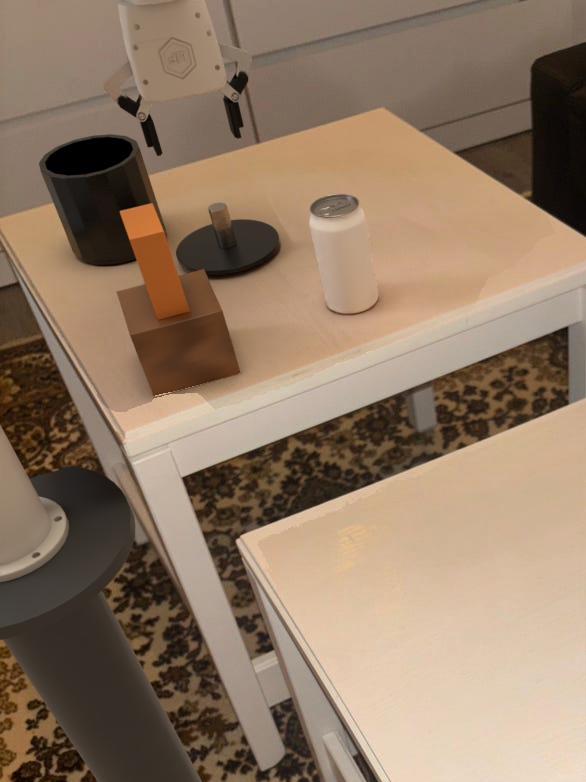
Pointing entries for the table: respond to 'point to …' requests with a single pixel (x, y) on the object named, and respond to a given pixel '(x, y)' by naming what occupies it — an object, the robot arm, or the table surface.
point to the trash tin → (98, 194)
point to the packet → (155, 260)
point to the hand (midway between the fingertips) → (197, 143)
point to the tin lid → (227, 244)
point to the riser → (180, 337)
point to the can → (343, 253)
